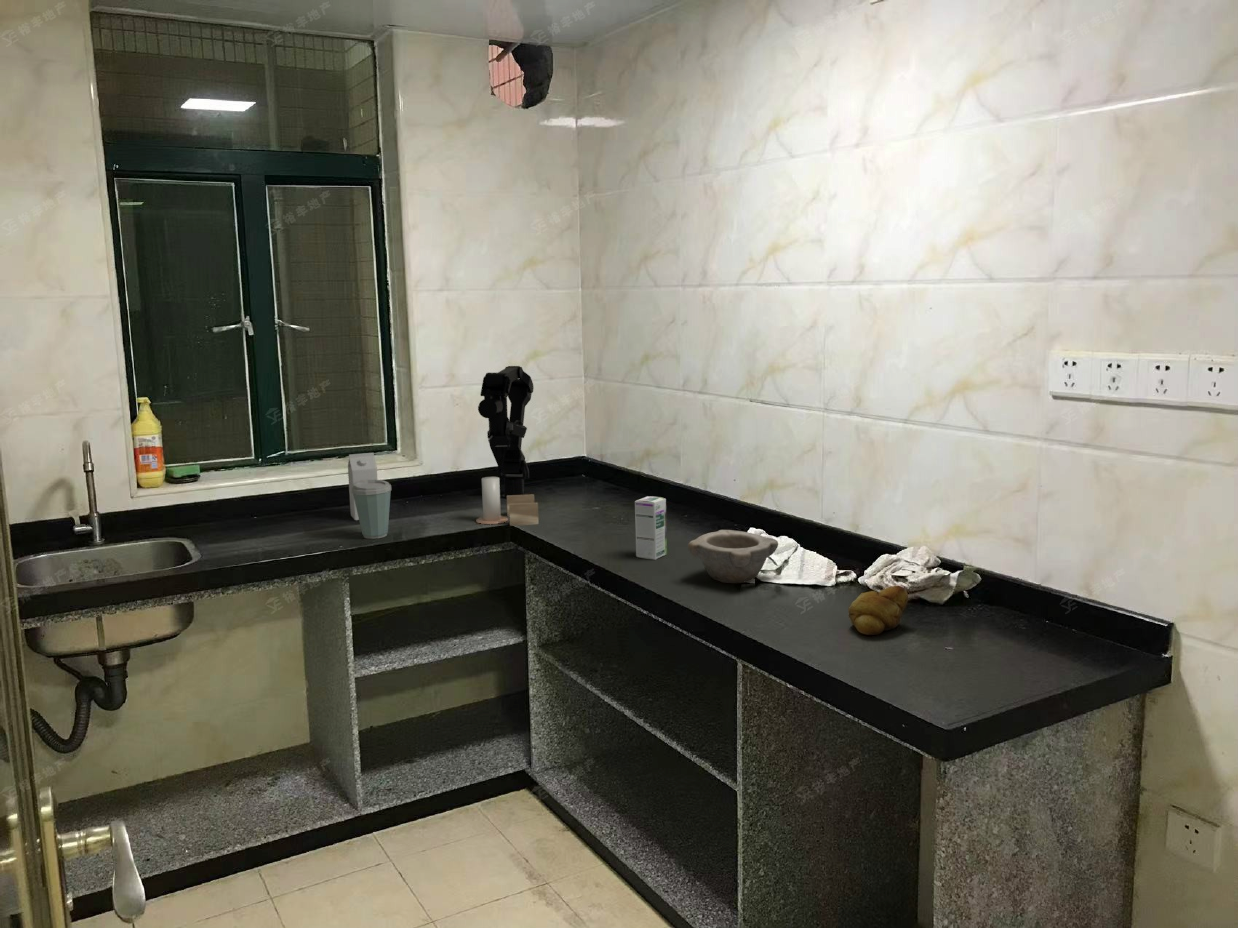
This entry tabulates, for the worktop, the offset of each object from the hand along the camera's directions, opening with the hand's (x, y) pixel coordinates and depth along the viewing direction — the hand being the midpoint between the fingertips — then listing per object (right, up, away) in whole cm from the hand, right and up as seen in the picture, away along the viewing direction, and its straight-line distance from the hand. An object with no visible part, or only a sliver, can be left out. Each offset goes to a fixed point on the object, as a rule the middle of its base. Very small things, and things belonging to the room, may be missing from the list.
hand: (499, 465), depth 298 cm
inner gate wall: (+7, -15, -9) cm, 19 cm away
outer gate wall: (+9, -17, -20) cm, 28 cm away
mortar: (+62, -26, -75) cm, 101 cm away
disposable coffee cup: (-30, -19, -32) cm, 48 cm away
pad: (0, -16, -16) cm, 23 cm away
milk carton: (-39, -16, -9) cm, 43 cm away
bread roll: (+85, -32, -109) cm, 142 cm away
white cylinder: (0, -16, -16) cm, 23 cm away
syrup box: (+44, -23, -56) cm, 74 cm away
